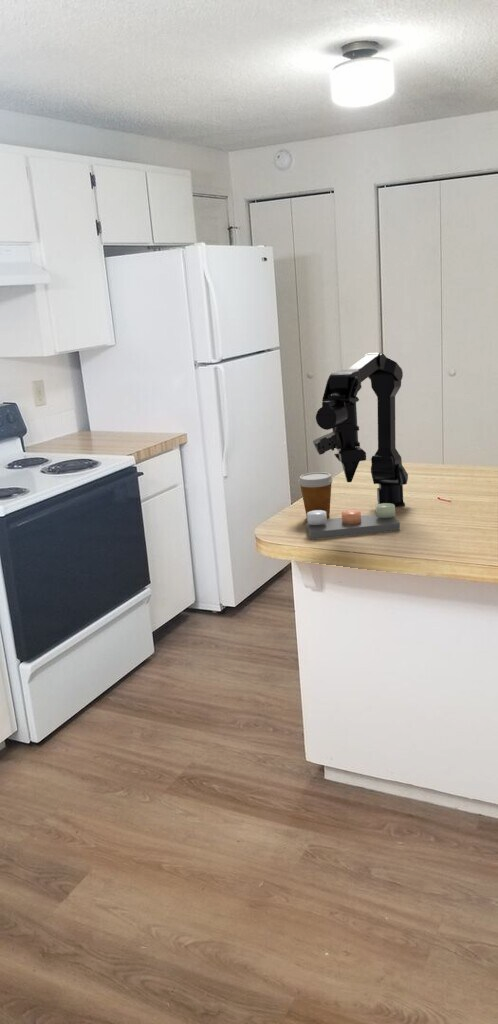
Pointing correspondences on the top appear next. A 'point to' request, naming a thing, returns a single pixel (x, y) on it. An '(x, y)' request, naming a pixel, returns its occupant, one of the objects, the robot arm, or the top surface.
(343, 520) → the button terracotta
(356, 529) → the panel
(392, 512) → the button sage
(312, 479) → the disposable coffee cup
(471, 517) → the top surface
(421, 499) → the top surface
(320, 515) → the button bluegrey
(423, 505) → the top surface
